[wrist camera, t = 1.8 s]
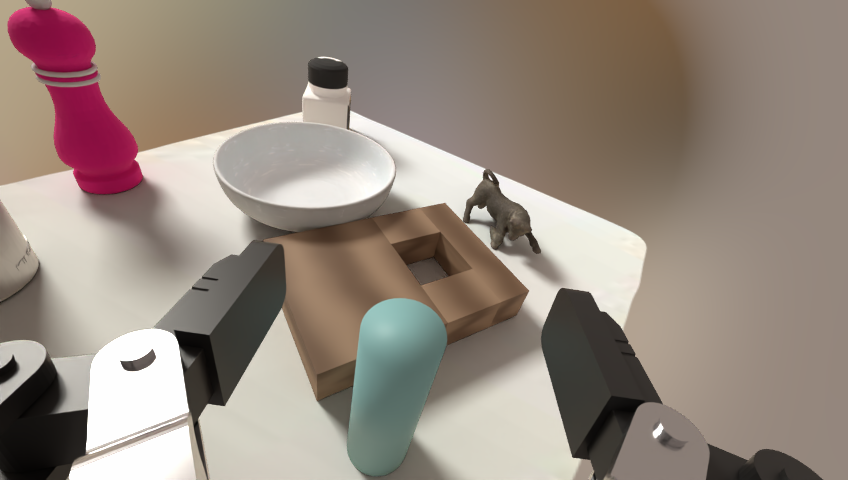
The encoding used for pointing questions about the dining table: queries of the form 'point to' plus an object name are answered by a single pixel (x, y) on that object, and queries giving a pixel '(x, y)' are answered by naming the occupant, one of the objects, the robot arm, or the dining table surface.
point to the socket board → (386, 284)
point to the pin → (392, 381)
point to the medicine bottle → (327, 93)
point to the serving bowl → (304, 174)
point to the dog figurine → (501, 213)
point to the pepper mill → (76, 98)
